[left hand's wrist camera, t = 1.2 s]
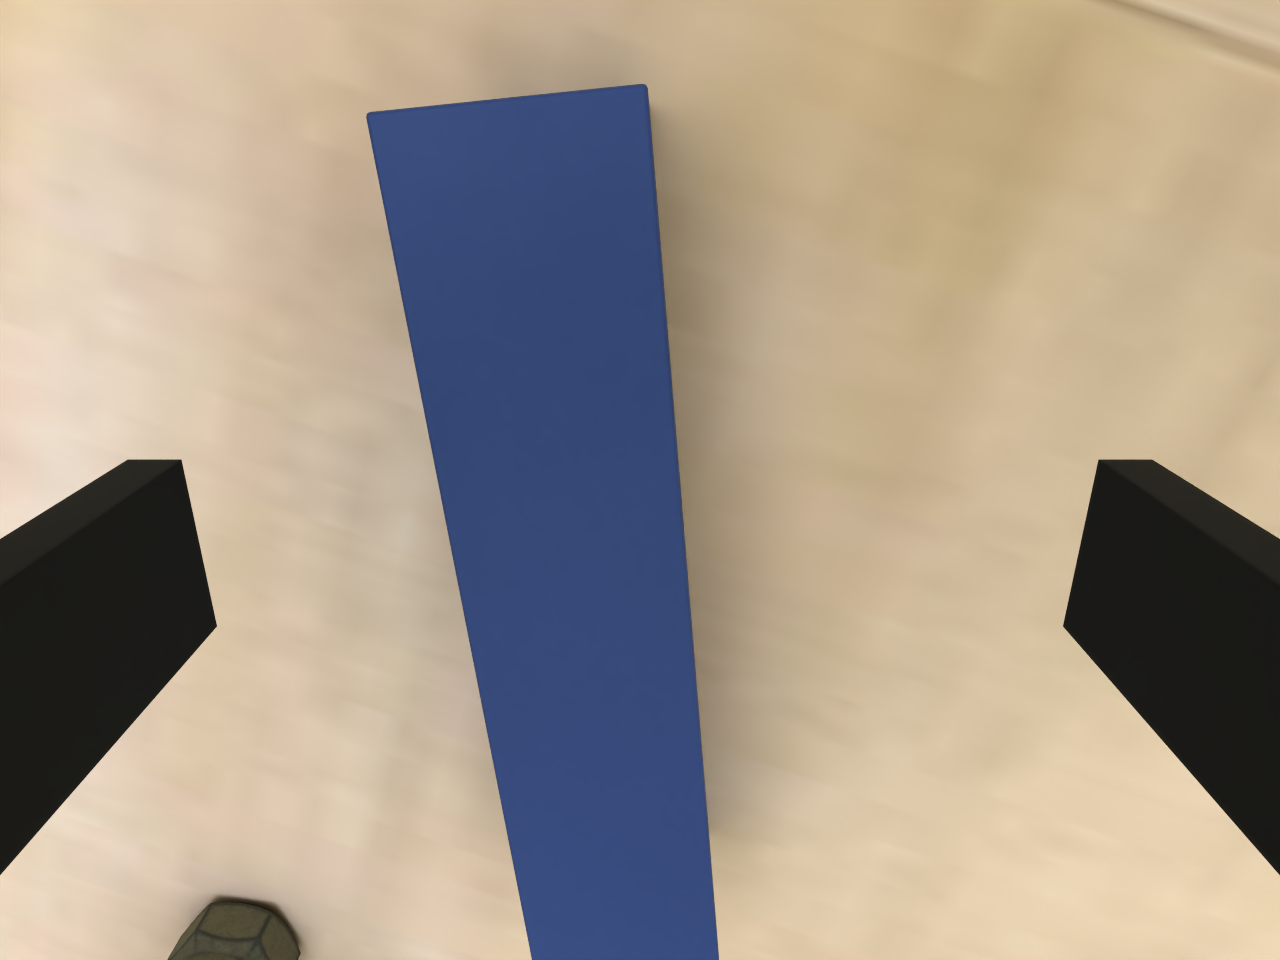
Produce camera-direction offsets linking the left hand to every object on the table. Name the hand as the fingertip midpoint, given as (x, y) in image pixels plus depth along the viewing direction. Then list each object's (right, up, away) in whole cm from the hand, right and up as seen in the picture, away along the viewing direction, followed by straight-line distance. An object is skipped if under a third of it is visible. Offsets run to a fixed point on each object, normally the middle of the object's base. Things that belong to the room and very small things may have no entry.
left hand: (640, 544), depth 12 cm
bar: (-1, -1, +17) cm, 17 cm away
